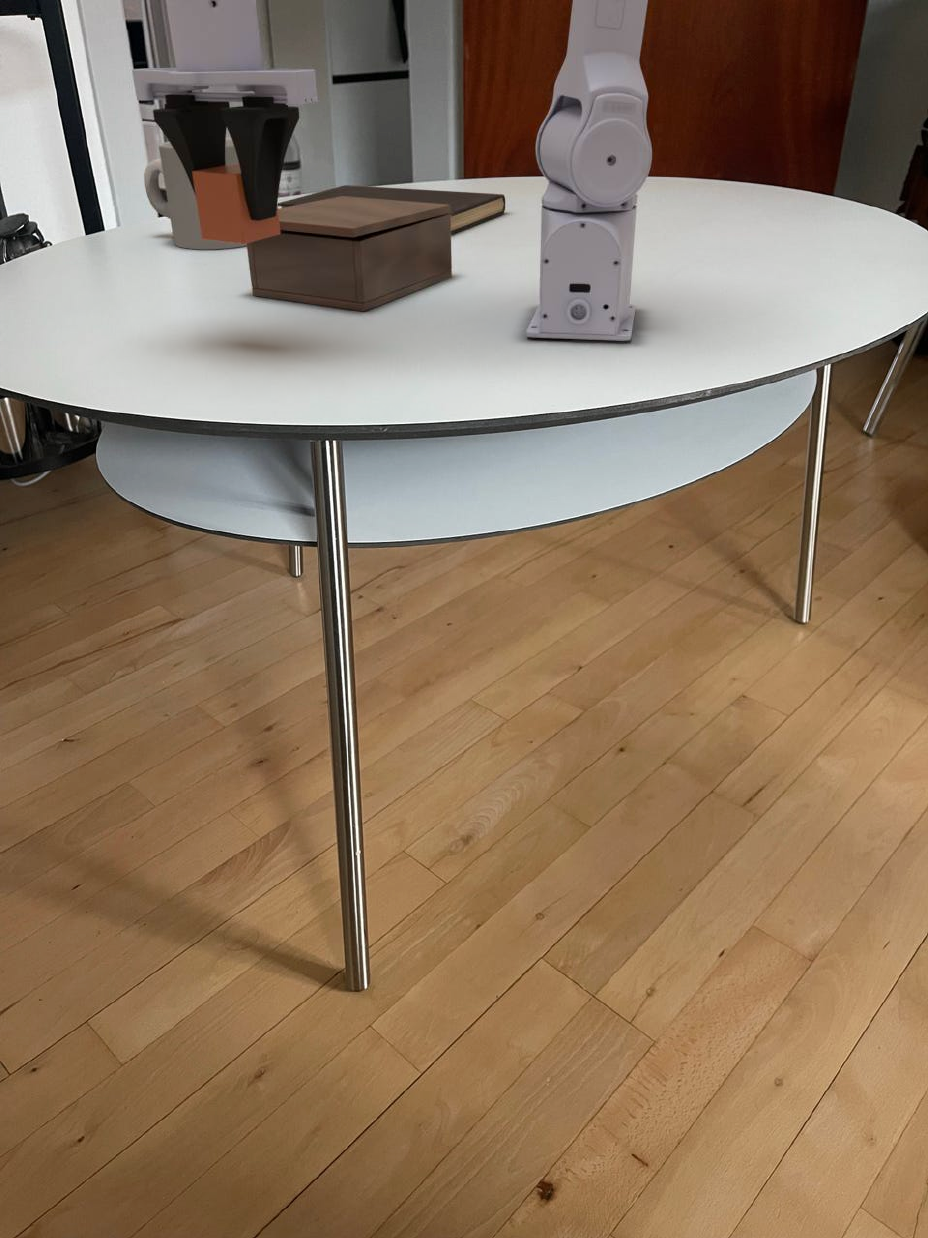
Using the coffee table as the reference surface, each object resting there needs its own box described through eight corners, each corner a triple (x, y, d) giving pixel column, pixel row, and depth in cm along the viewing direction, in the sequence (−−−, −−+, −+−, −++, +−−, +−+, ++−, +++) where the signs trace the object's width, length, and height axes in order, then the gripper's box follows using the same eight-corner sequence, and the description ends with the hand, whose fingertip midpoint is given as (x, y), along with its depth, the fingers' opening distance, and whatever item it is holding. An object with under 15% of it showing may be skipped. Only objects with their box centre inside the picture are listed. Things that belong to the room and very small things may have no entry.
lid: (353, 237, 80) (353, 228, 80) (237, 225, 86) (236, 216, 85) (450, 212, 91) (450, 204, 91) (342, 203, 97) (342, 195, 96)
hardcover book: (448, 236, 112) (448, 214, 110) (279, 223, 120) (277, 203, 119) (505, 213, 124) (505, 193, 123) (348, 202, 132) (347, 184, 131)
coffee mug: (282, 236, 113) (272, 139, 108) (221, 252, 106) (206, 149, 101) (197, 226, 119) (183, 134, 114) (134, 241, 112) (116, 143, 107)
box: (364, 311, 84) (359, 240, 81) (252, 295, 89) (244, 228, 86) (452, 276, 94) (450, 213, 91) (347, 264, 100) (342, 203, 97)
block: (281, 233, 72) (273, 166, 70) (244, 243, 69) (235, 174, 67) (239, 229, 74) (230, 163, 72) (201, 239, 71) (191, 171, 69)
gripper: (83, -7, 64) (124, 217, 71) (255, -13, 58) (282, 233, 65) (162, -6, 69) (193, 202, 76) (328, -12, 63) (346, 216, 70)
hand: (238, 215), depth 71 cm, fingers closed on block, 4 cm apart
